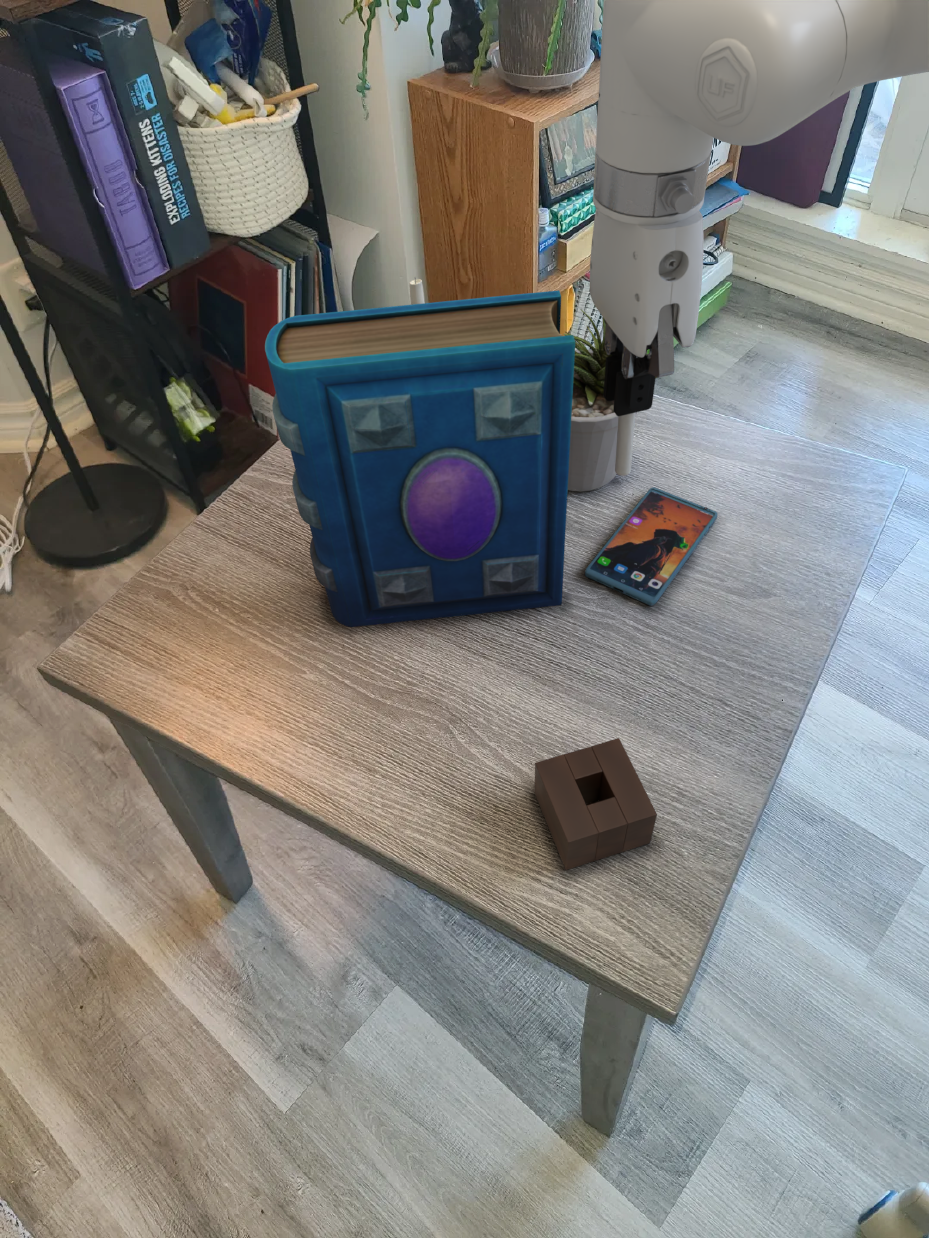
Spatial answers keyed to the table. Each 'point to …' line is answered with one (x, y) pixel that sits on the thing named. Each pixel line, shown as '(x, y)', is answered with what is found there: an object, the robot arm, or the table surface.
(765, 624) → the table surface
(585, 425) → the potted plant
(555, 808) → the pen stand
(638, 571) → the smartphone
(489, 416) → the book
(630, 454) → the stylus
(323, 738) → the table surface
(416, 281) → the candle
